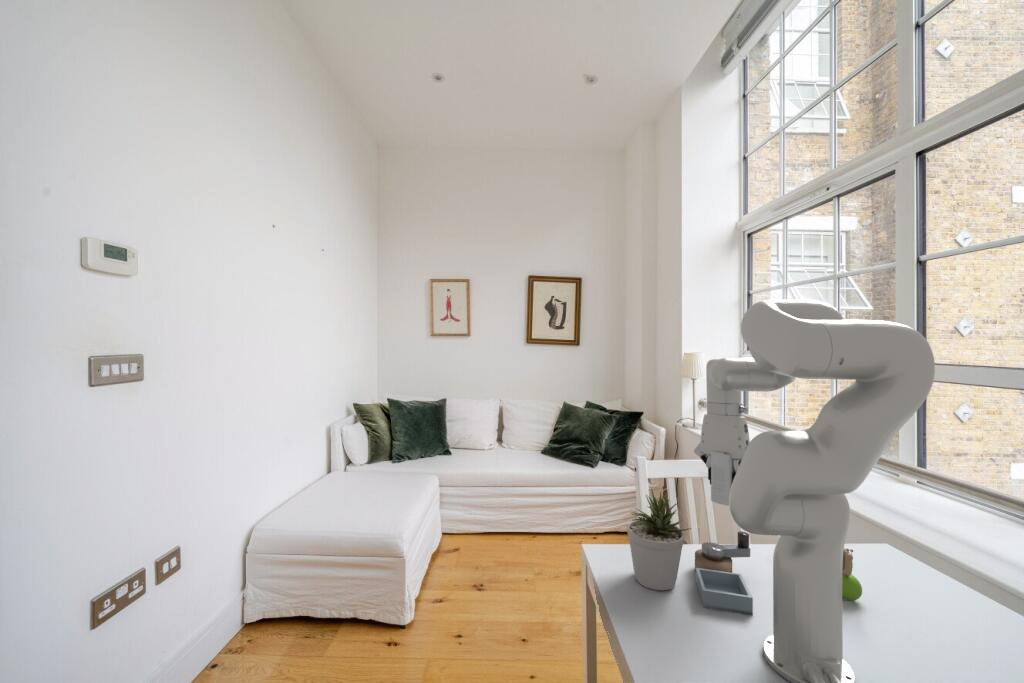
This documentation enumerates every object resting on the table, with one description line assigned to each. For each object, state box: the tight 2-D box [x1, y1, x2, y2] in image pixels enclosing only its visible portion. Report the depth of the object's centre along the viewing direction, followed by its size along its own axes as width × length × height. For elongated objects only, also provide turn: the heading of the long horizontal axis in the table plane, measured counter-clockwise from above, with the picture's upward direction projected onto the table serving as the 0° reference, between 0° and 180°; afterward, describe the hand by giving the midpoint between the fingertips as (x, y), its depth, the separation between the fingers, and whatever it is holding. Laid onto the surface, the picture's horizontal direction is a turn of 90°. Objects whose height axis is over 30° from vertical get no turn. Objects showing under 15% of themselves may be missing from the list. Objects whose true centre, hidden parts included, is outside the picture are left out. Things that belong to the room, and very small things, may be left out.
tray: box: [695, 568, 754, 616], centre depth 89 cm, size 9×9×4 cm
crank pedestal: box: [694, 548, 733, 573], centre depth 99 cm, size 9×8×4 cm
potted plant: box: [626, 487, 692, 591], centre depth 95 cm, size 13×14×20 cm
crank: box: [701, 531, 751, 561], centre depth 99 cm, size 11×5×5 cm, turn 94°
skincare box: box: [710, 451, 734, 507], centre depth 100 cm, size 6×4×12 cm
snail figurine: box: [842, 547, 863, 602], centre depth 89 cm, size 5×6×12 cm
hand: (725, 485), depth 100 cm, fingers closed on skincare box, 4 cm apart
